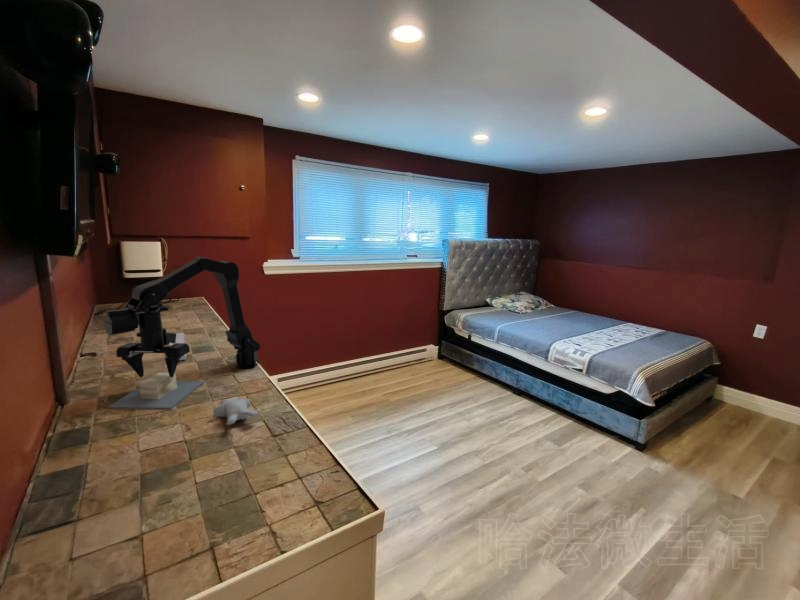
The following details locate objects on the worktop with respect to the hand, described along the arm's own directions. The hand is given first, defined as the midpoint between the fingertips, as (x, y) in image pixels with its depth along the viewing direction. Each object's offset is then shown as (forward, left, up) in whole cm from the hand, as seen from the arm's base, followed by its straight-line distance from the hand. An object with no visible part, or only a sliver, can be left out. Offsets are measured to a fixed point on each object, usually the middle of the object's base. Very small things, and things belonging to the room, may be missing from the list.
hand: (157, 376), depth 111 cm
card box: (0, 0, -5) cm, 5 cm away
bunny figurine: (-30, +13, -6) cm, 33 cm away
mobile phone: (+16, -37, -6) cm, 41 cm away
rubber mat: (0, 0, -6) cm, 6 cm away
